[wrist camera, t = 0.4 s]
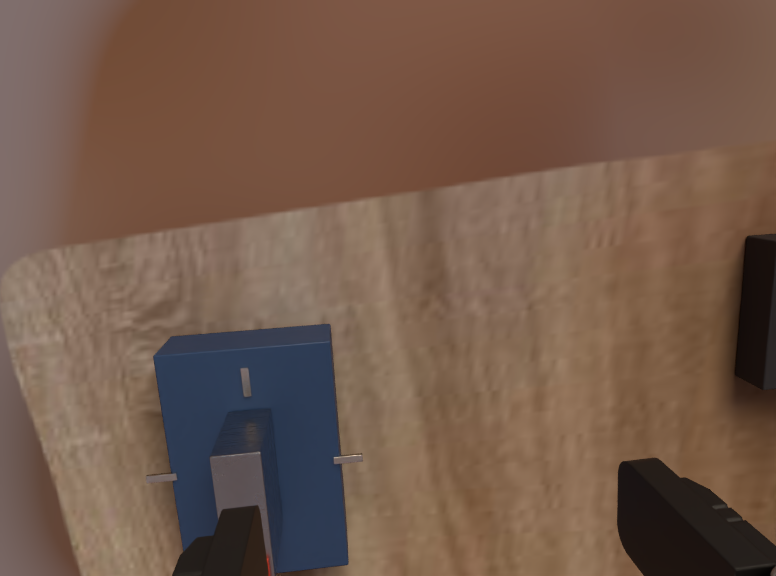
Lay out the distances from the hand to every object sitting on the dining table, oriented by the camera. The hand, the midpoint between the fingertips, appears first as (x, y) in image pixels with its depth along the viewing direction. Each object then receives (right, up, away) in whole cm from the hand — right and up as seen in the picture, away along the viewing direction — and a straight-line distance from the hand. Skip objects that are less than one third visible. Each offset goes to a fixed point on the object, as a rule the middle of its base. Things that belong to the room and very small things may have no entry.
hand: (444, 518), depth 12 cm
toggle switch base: (-8, -3, +18) cm, 20 cm away
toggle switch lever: (-8, -4, +15) cm, 17 cm away
